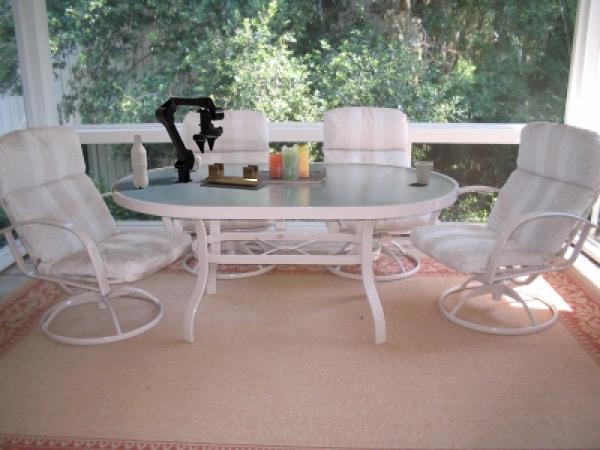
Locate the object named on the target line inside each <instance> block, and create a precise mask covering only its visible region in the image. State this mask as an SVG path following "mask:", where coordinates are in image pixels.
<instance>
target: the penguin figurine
mask: <svg viewBox="0 0 600 450" xmlns="http://www.w3.org/2000/svg"><path fill="white" fill-rule="evenodd" d="M194 156H195V157H194V158H195V162H194V166H193V169H192V170H194V172H198V171H199V170H200V169H201V167H202V157H201V156H200V155H198V154H195V155H194Z"/></svg>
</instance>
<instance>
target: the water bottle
mask: <svg viewBox="0 0 600 450" xmlns="http://www.w3.org/2000/svg"><path fill="white" fill-rule="evenodd" d="M130 157H131V169H132V175H133V177H132V184H133V186H134V187H135V189H138V190H139V189H140V188H141V189H143V188H144V189H146V188H148V186H149V178H148V177H149V176H148V169H147V168H148V161H147V159H148V158H147V151H146V148H145V146H144V145H143V143H142V137H141V134H134V135H133V145H132V147H131V150H130Z"/></svg>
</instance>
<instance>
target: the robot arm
mask: <svg viewBox="0 0 600 450" xmlns="http://www.w3.org/2000/svg"><path fill="white" fill-rule="evenodd" d="M179 106H188V107H189V106H190V107H191V106H194V107H196V108H198V109H196V111H195V114H196V113H197V114H199V124H198V127H200V131H199V132H198V133H194V134H193V135H192V141H194V142H195V144H196V146H197V147H198V150H199V151H200V153H201V154H205V147H206V146H205V145H206V142H207V145H208V148H209V151H210V152H213V150H214V145H215V143H216V140H218V139H219V137H222V134H223V133H224V128H223V126H215V125H214V123H213V122H216V121H223V120H224V119H225V117H226V116H225V112H224V110H223V109H222V106H216V105H215V103H214V102H213V99H212V98H211V97H210V96H202V95H201V96H196V97H177V96H171V97H169V98H168V99H167V100H166V101H165V102H163V103H162V104H160V106H159V107H157V108H156V109H155V112H154V115H155V117H156V119H157V121H158V122H159V123H160V125H162V126H163V127H164V128H165V130H166V132H167V134H168V136H169V138H170V140H171V142H172V145H173V146H174V148H175V151H176V159H177V160H176V161H175V163H174V164H173V167H174V169H176V170H177V178H178V179H176V181H175V183H190V182H192V181H193V180H194V179H191V171H192V170H194V169H193V166H194V162H195V158H194V157H195V156H194V151H193V150H192V149H190V148H189V149H188V148H187V147H186V144H185V142H184V141H183V139H182V136H181V135H180V133H179V130H178V128H177V126H176V124H175V115H174V114H175V113H176V112H177V109H178V107H179Z"/></svg>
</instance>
